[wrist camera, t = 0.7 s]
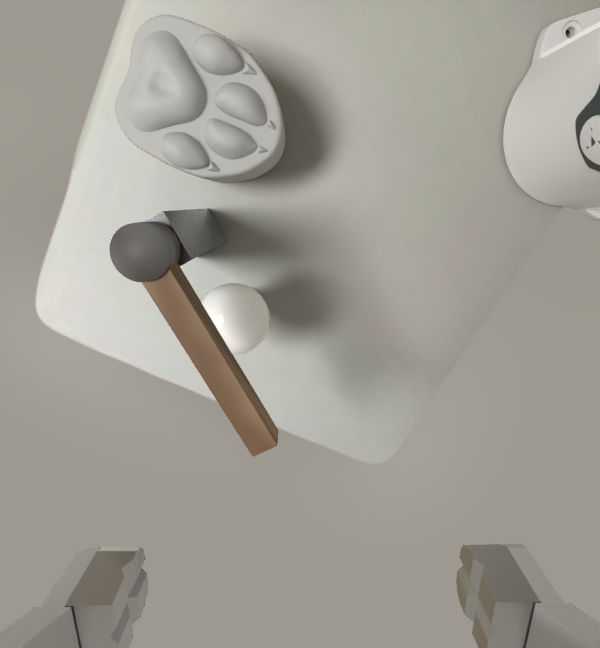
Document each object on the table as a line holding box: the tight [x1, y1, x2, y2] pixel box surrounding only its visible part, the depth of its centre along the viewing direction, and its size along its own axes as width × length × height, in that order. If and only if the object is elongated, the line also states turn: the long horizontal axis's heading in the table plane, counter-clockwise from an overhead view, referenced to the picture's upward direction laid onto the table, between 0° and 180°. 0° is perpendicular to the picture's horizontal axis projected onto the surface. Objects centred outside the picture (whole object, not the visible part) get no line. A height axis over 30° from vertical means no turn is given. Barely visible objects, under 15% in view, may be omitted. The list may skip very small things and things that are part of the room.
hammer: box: [110, 221, 278, 456], centre depth 28 cm, size 4×18×3 cm, turn 27°
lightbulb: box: [201, 283, 270, 355], centre depth 38 cm, size 6×6×11 cm
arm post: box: [145, 209, 226, 266], centre depth 35 cm, size 4×4×14 cm
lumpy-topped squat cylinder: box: [115, 15, 286, 183], centre depth 35 cm, size 10×13×9 cm
